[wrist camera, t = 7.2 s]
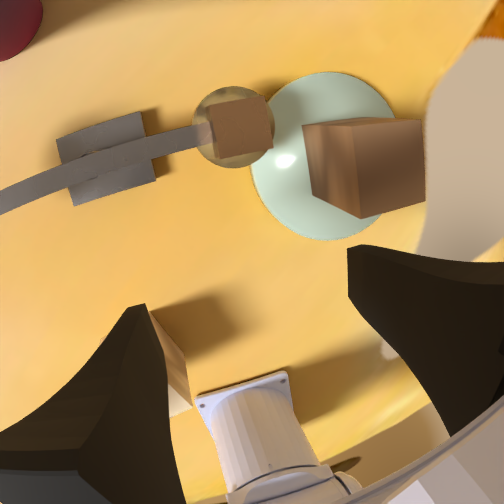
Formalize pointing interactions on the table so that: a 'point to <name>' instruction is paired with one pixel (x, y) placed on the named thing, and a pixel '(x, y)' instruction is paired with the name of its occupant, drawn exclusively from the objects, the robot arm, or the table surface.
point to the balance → (150, 149)
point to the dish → (294, 154)
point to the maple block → (173, 372)
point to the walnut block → (366, 163)
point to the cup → (18, 25)
